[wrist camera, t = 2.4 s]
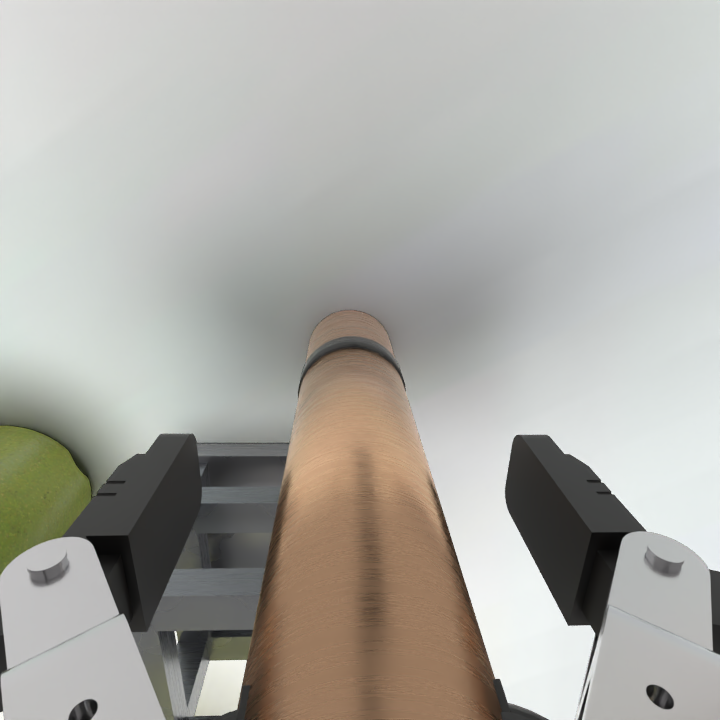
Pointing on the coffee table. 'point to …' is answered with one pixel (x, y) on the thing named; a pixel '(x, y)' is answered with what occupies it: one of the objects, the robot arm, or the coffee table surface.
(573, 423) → the coffee table surface
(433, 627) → the tube
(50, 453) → the plant pot
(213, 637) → the metal frame cube
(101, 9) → the coffee table surface
